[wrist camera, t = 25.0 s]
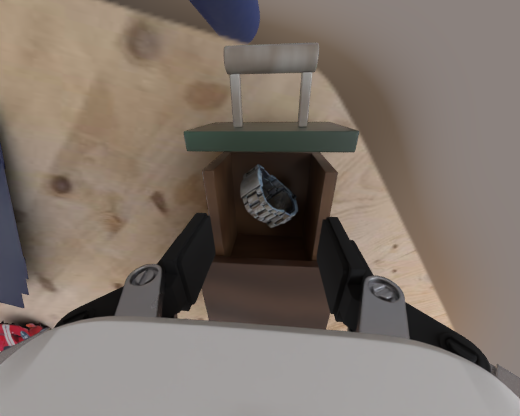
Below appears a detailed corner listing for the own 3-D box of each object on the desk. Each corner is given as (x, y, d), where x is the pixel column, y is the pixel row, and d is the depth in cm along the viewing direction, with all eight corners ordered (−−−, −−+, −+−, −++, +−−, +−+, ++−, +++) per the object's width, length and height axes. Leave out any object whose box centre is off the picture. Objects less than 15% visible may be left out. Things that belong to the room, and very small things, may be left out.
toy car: (40, 315, 38) (9, 342, 34) (87, 367, 48) (68, 393, 44) (-3, 311, 39) (-38, 337, 34) (52, 364, 49) (30, 389, 45)
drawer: (208, 61, 15) (164, 34, 9) (340, 57, 15) (383, 25, 9) (227, 233, 24) (210, 276, 18) (313, 236, 23) (326, 283, 17)
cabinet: (222, 210, 23) (195, 261, 16) (320, 213, 22) (342, 269, 15) (231, 287, 30) (215, 349, 22) (307, 291, 29) (318, 358, 21)
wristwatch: (260, 188, 20) (278, 231, 18) (229, 168, 15) (248, 222, 13) (285, 171, 19) (308, 215, 17) (259, 145, 14) (285, 200, 12)
